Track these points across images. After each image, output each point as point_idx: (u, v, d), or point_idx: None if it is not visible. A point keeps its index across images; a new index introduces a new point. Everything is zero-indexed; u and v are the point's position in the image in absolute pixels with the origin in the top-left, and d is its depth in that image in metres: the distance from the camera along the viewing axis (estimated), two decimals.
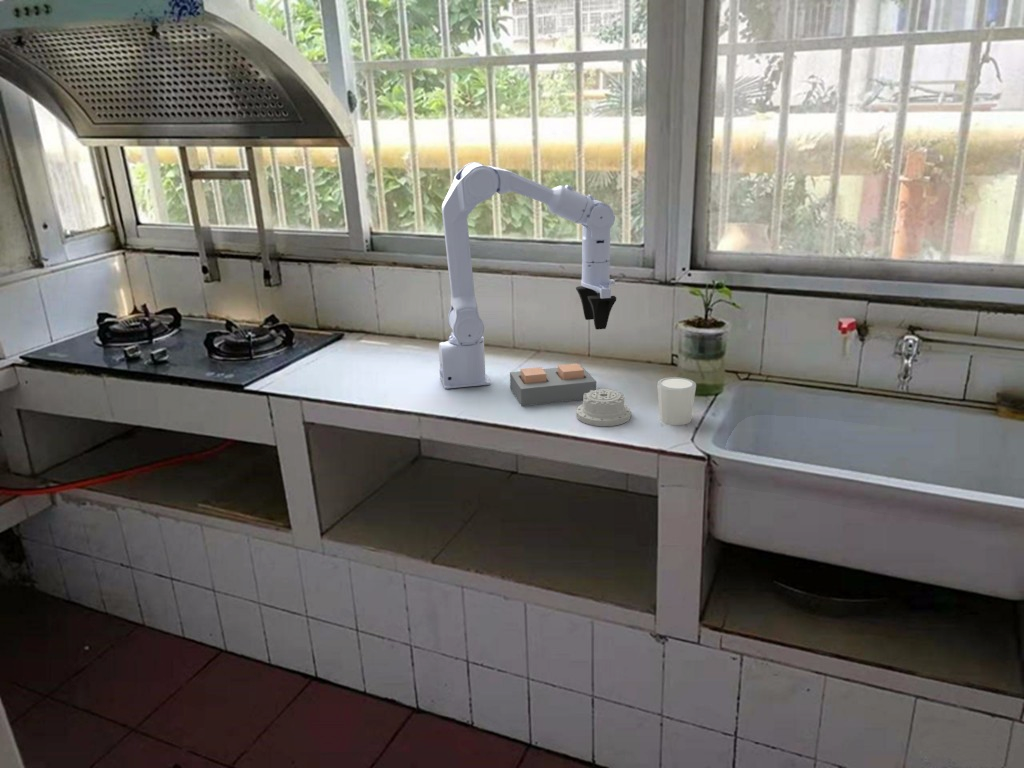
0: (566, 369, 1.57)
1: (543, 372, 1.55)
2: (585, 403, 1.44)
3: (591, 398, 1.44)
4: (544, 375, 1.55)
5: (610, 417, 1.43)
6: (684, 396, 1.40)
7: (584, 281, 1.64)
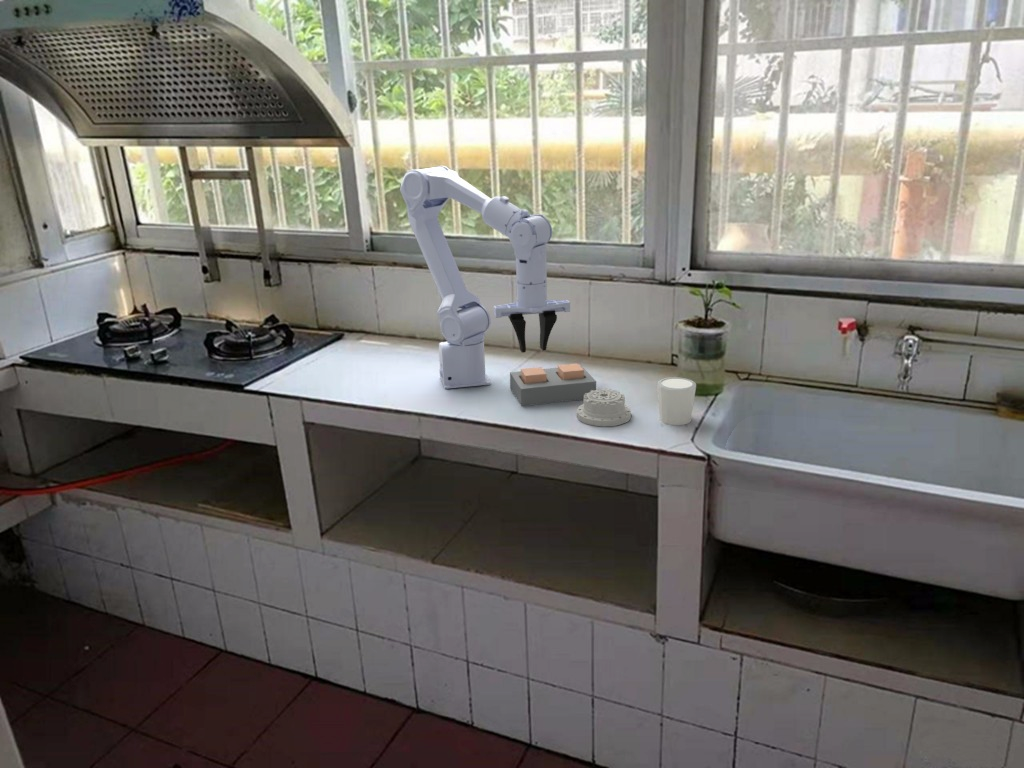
0: (566, 369, 1.57)
1: (543, 372, 1.55)
2: (586, 403, 1.44)
3: (591, 398, 1.44)
4: (544, 375, 1.55)
5: (610, 417, 1.43)
6: (684, 396, 1.40)
7: None
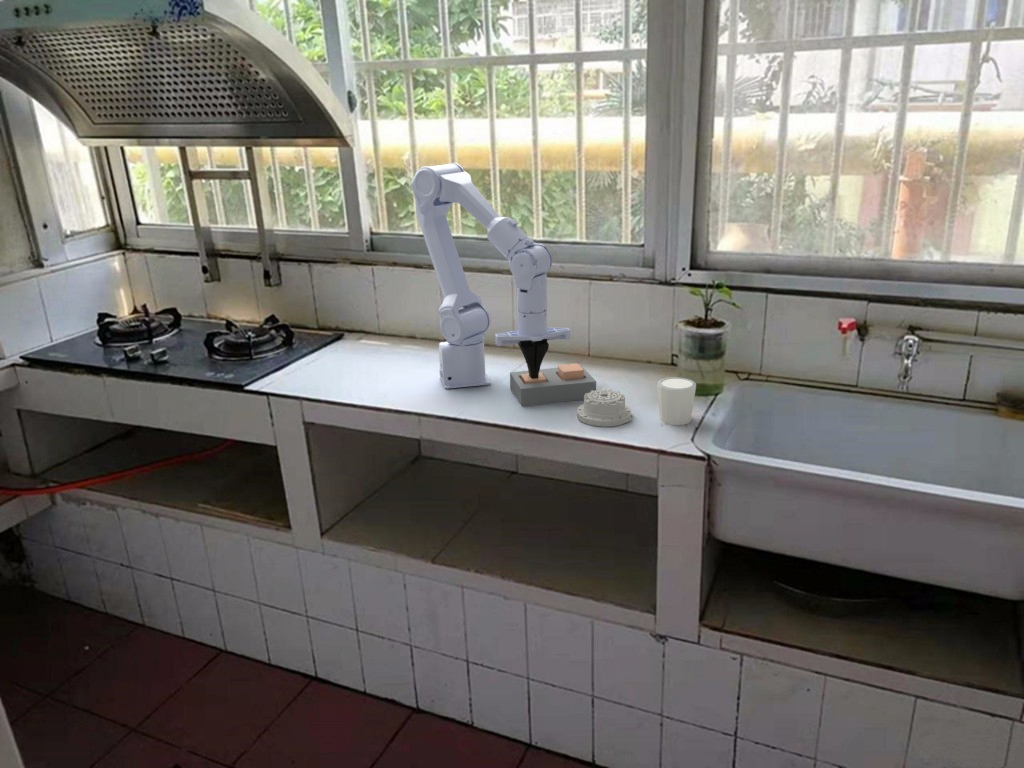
0: (566, 369, 1.57)
1: (543, 377, 1.56)
2: (586, 403, 1.44)
3: (592, 398, 1.44)
4: (544, 380, 1.55)
5: (611, 417, 1.43)
6: (684, 396, 1.40)
7: None
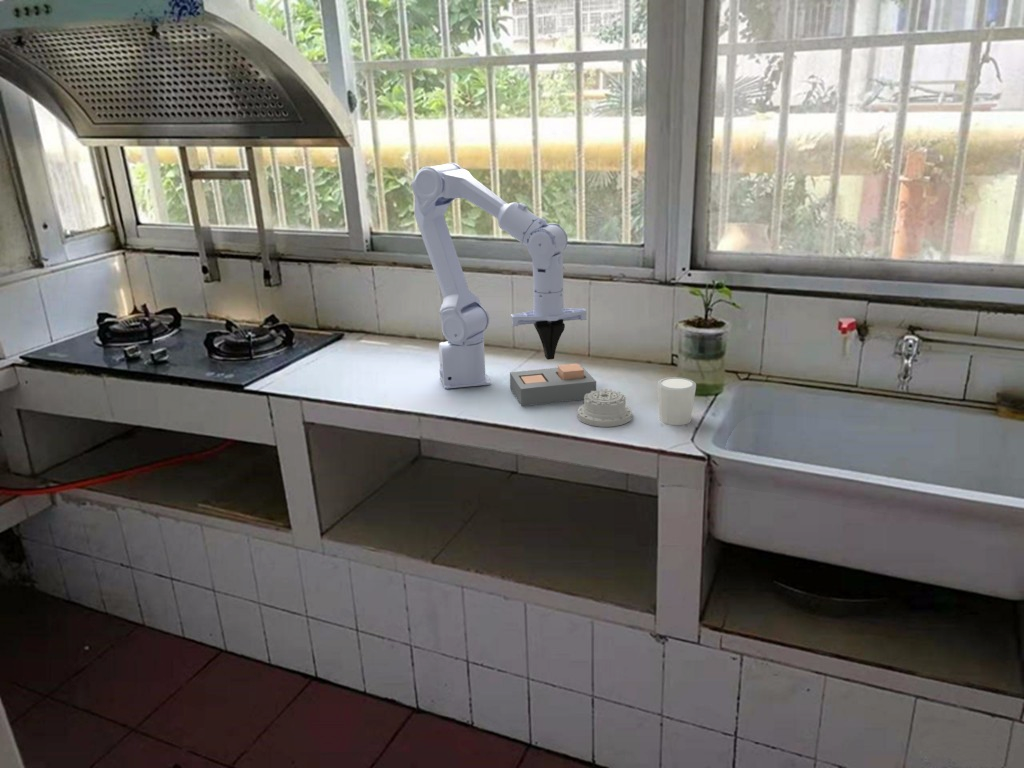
0: (566, 369, 1.57)
1: (543, 380, 1.56)
2: (586, 403, 1.44)
3: (592, 399, 1.44)
4: None
5: (611, 418, 1.43)
6: (684, 396, 1.40)
7: None
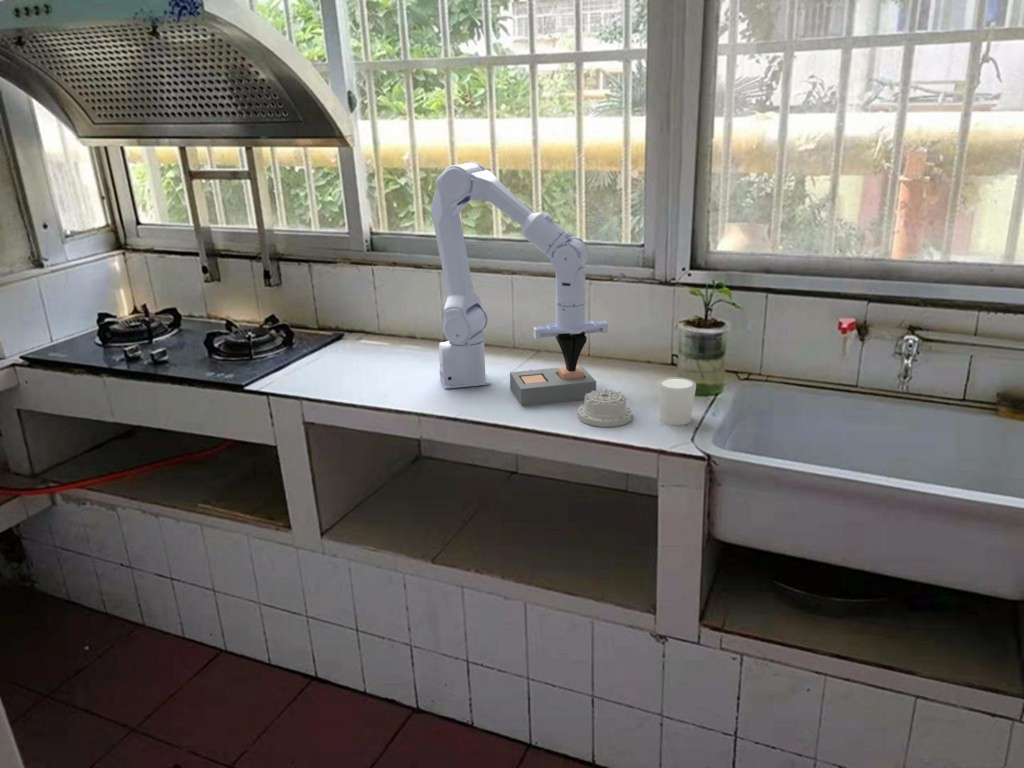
0: (566, 371, 1.57)
1: (543, 380, 1.56)
2: (587, 403, 1.44)
3: (592, 398, 1.44)
4: None
5: (611, 418, 1.43)
6: (684, 396, 1.40)
7: None
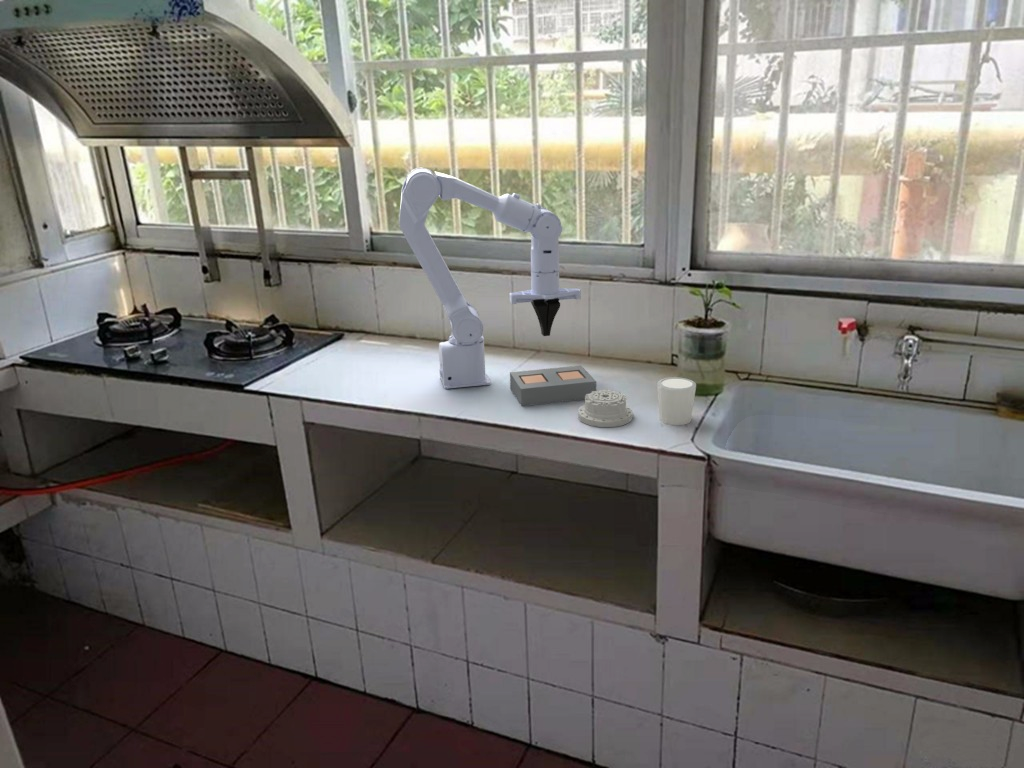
0: (566, 376, 1.57)
1: (543, 380, 1.56)
2: (587, 404, 1.44)
3: (593, 399, 1.44)
4: None
5: (612, 418, 1.42)
6: (684, 396, 1.40)
7: None
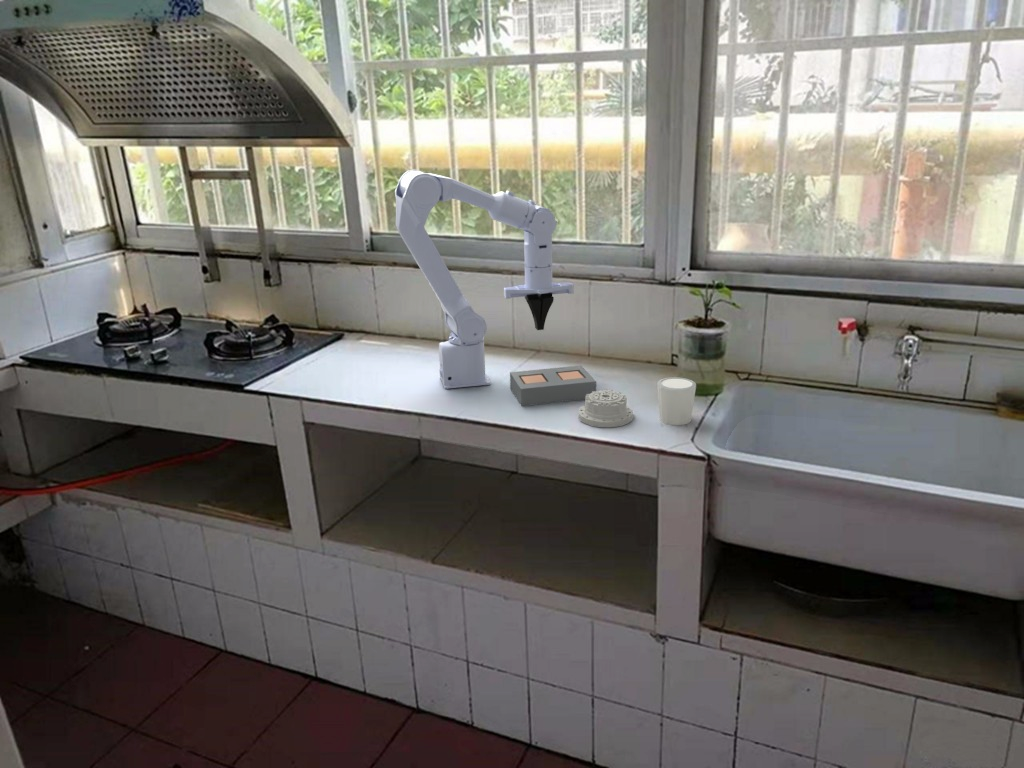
0: (566, 376, 1.57)
1: (543, 380, 1.56)
2: (587, 404, 1.44)
3: (593, 399, 1.44)
4: None
5: (612, 418, 1.42)
6: (684, 396, 1.40)
7: None
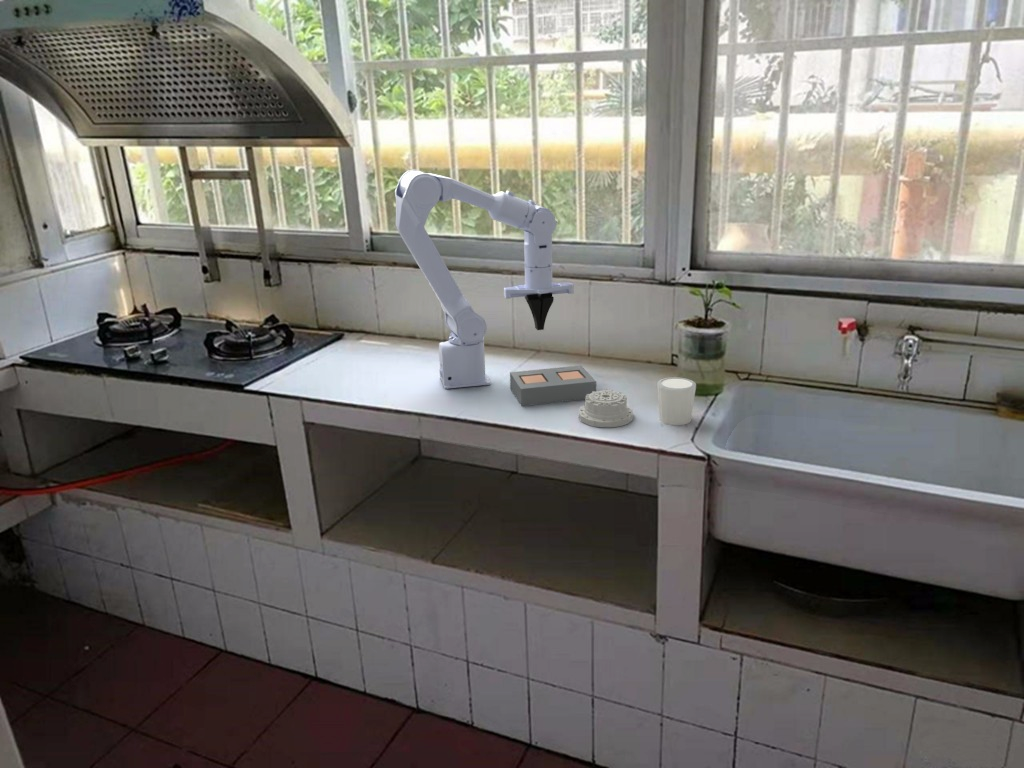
0: (566, 376, 1.57)
1: (543, 380, 1.56)
2: (587, 404, 1.44)
3: (593, 399, 1.44)
4: None
5: (612, 418, 1.42)
6: (684, 396, 1.40)
7: None
